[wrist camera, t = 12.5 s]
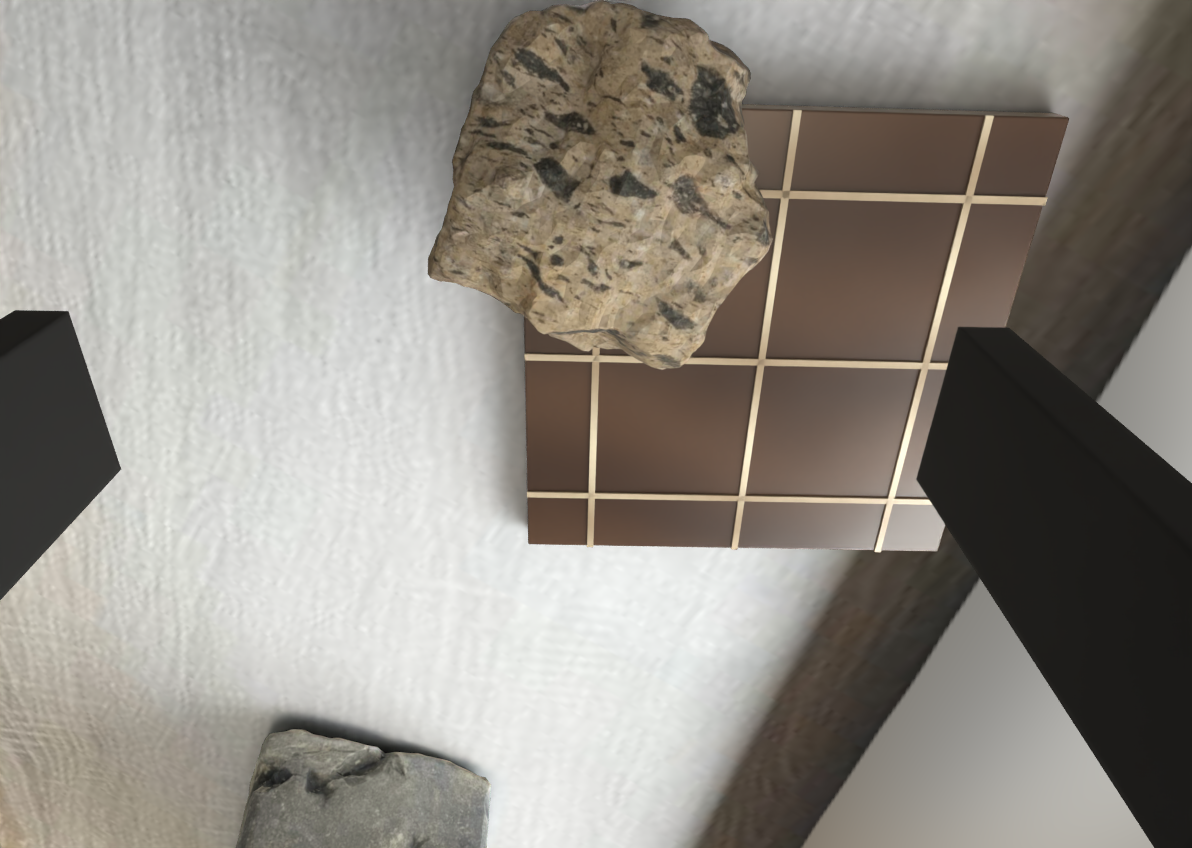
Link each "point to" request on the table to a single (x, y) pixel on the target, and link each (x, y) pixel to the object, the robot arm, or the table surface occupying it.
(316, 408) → the table surface
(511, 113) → the rock
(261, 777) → the grey broken concrete chunk
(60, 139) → the table surface
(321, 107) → the table surface
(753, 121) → the grid board
